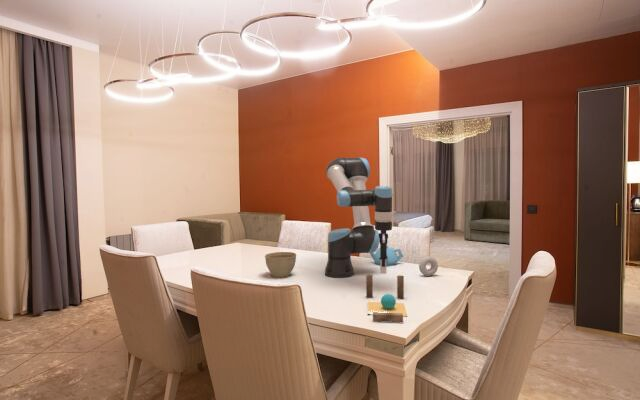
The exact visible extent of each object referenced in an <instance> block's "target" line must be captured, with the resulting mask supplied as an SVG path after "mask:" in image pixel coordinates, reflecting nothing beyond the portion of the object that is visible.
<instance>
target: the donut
mask: <svg viewBox="0 0 640 400" xmlns="http://www.w3.org/2000/svg"><path fill="white" fill-rule="evenodd" d="M428 264H430V268H429V269H428V268H427V265H428ZM438 268H439V263H438V262H437V259H436V258H435V257H432V256H429V255H428V256H424V257H423V258H422V259H421V260H420V262H419V263H418V269H419V272H420V273H421V274H422V275H423V276H425V277H431V276H433V275H435V274H436V273H437V271H438Z"/></svg>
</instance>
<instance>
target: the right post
mask: <svg viewBox="0 0 640 400" xmlns="http://www.w3.org/2000/svg"><path fill="white" fill-rule="evenodd" d="M396 277H397V278H396V279H397V281H396V285H397V286H396V288H397V289H396V294H397V295H396V298H397V299H399V300H403V299H404V298H405V296H404V295H405V294H404V293H405V289H404V288H405V286H404V285H405V283H404V282H405V276H404V275H401V274H400V275H397V276H396Z"/></svg>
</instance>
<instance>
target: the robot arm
mask: <svg viewBox="0 0 640 400" xmlns="http://www.w3.org/2000/svg"><path fill="white" fill-rule="evenodd" d="M370 167H371V166H370V163H369V161H368V159H366V158H364V157H358V156H357V157H337V158H334V159H333V160H331V161H330V162H329V163H328V164H327V166H326V169H325V170H326V171H325V174H326V176H327V178H328V179H329V180H330V181H331V182H332V185H333V186H334V188H335V190H336V203H337V205H338V207H345V208H349V207H352V215H353V216H352V217H353V223H354V225H353V227H352V228H351V229H352V230H351V229H350V228H345V227H344V228H337V229H333V230H331V231H329V232H328V233H327V262H326V265H325V269H324V275H325V276H326V277H330V278H339V279H340V278H341V279H342V278H349V277H352V276H354V275H355V269H354V266H353V263H352V260H351V254H352V255H353V254H370V253H371V252H373V253H376V252H377V250H378V249H379V248H380V258H379V259H380V265H379V273H380V274H381V275H382V274H384V275H387V266H386V259H387V258H388V257H386V254H387V245H388V239H389V234H388V233H387V231H388V232H389V231H392V229H393V222H392V220H393V216H394V213H393V188H392V186H388V185H385V186H384V185H380V186H379V185H378V186H377V185H376V186H375V187H374V188H373V189H367V186H366V182H367V181H368V178H369V177H370V175H371V171H370V170H371V168H370ZM369 207H374V220H375V222H374V225H373V224H371V218H370V209H369ZM379 231H380V233H379ZM379 245H380V246H379Z"/></svg>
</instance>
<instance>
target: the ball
mask: <svg viewBox="0 0 640 400" xmlns="http://www.w3.org/2000/svg"><path fill="white" fill-rule="evenodd" d="M380 302H381V304H382V306H383V307H384V308H386V309H392V308H393V307H394V306H395V304H396V303H397V301H396V298H395V296H394V295H392V294H390V293H386V294H383V295H382V296H381V298H380Z"/></svg>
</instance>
